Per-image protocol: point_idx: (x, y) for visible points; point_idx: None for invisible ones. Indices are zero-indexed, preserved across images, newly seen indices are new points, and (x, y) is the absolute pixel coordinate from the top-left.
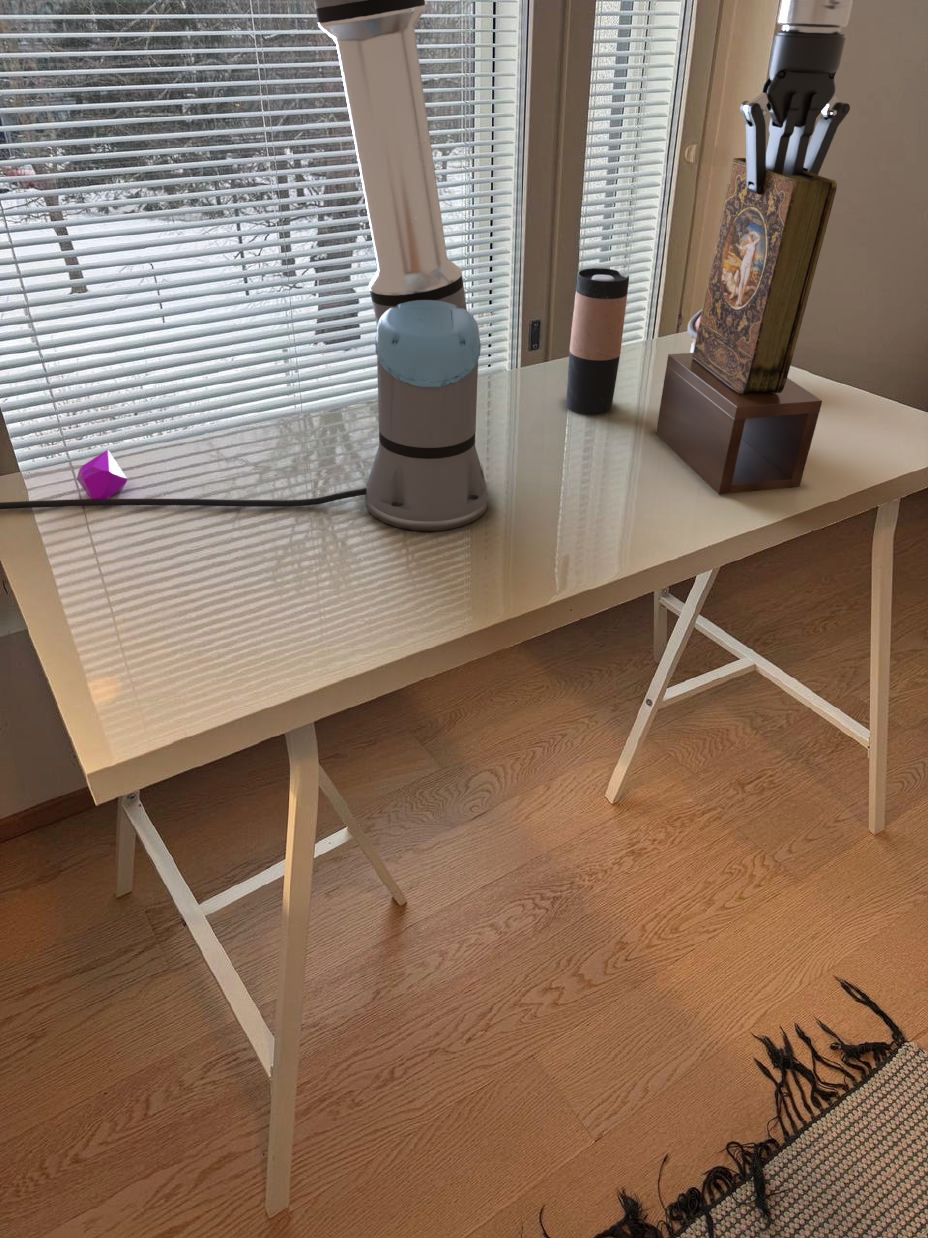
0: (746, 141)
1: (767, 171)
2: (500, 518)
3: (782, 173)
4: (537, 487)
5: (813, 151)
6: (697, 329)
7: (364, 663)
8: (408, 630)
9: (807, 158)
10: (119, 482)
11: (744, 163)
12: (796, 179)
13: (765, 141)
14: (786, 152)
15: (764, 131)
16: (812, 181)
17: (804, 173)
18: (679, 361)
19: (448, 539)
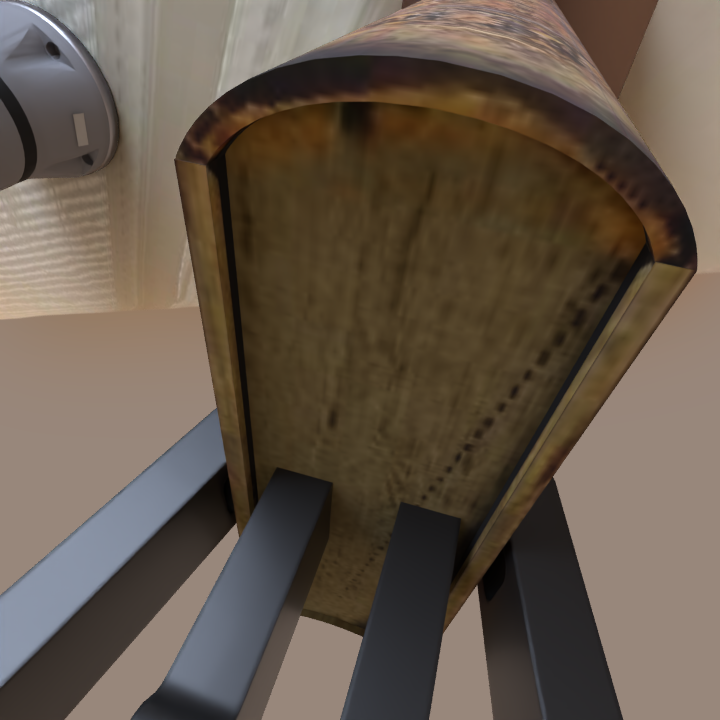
0: (36, 572)
1: (240, 528)
2: (135, 165)
3: (362, 522)
4: (182, 101)
5: (510, 710)
6: None
7: (57, 310)
8: (76, 293)
9: (512, 643)
10: None
11: (211, 357)
12: (329, 588)
13: (118, 654)
14: (288, 644)
15: (63, 708)
16: (347, 627)
17: (453, 582)
18: (406, 5)
19: (87, 187)
